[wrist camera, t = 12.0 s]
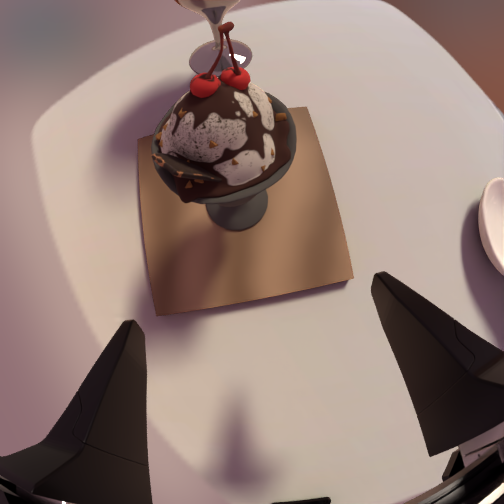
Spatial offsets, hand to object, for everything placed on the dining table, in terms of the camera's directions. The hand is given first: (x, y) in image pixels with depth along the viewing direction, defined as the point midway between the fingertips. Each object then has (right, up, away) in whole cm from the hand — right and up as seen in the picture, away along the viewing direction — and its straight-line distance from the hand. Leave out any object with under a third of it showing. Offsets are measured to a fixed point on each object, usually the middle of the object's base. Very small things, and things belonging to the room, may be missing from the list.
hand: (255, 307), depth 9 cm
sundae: (-1, +6, +12) cm, 14 cm away
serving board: (-1, +6, +13) cm, 14 cm away
